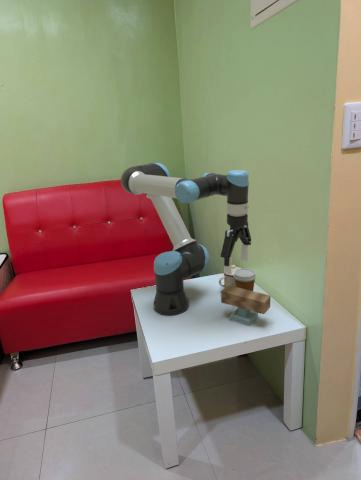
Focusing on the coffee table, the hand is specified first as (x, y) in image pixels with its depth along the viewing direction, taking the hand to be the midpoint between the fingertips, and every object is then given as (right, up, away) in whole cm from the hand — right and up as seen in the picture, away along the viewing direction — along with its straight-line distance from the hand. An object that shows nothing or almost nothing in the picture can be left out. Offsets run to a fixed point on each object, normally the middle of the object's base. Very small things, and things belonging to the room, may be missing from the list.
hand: (236, 266), depth 135 cm
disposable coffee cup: (+7, -15, +19) cm, 25 cm away
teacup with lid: (+2, -13, +27) cm, 30 cm away
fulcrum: (+4, -21, +3) cm, 21 cm away
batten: (+4, -15, +1) cm, 15 cm away
